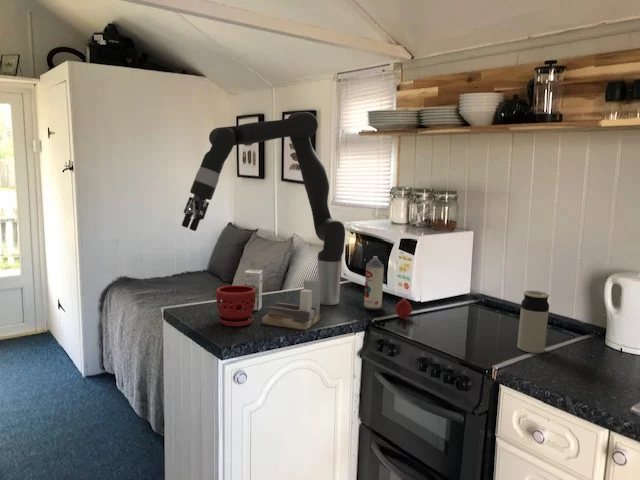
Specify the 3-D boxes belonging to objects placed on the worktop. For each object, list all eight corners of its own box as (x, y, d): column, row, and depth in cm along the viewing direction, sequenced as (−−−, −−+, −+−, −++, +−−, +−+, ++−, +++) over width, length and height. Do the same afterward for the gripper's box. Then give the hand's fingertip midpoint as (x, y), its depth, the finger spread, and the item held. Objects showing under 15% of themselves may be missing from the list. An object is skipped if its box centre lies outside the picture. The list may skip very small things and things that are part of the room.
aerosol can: (361, 305, 213) (363, 255, 210) (377, 304, 215) (380, 254, 212) (368, 309, 206) (370, 258, 203) (384, 308, 208) (387, 258, 205)
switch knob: (300, 314, 188) (301, 288, 187) (314, 316, 187) (315, 290, 185) (296, 318, 184) (297, 291, 183) (309, 319, 183) (310, 292, 181)
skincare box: (319, 310, 202) (320, 279, 200) (319, 314, 198) (320, 281, 196) (303, 310, 202) (304, 278, 200) (302, 313, 198) (303, 281, 196)
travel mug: (516, 351, 166) (522, 294, 164) (517, 343, 174) (522, 289, 171) (544, 355, 163) (550, 297, 161) (544, 347, 171) (549, 292, 168)
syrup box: (261, 307, 204) (262, 269, 202) (258, 311, 198) (259, 272, 196) (247, 306, 204) (247, 268, 202) (243, 310, 198) (244, 271, 196)
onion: (407, 322, 192) (408, 300, 191) (392, 319, 195) (393, 297, 194) (413, 318, 197) (414, 297, 195) (398, 315, 200) (400, 294, 198)
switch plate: (278, 313, 197) (279, 299, 196) (320, 319, 191) (320, 305, 191) (262, 323, 183) (262, 309, 183) (305, 330, 178) (306, 315, 178)
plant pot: (261, 320, 186) (262, 287, 185) (241, 331, 175) (242, 295, 173) (230, 315, 192) (230, 282, 190) (208, 324, 180) (208, 289, 178)
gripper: (222, 188, 178) (205, 235, 177) (208, 186, 190) (191, 229, 189) (202, 180, 174) (184, 227, 173) (188, 178, 186) (171, 222, 185)
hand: (188, 228), depth 181 cm, fingers open, 8 cm apart
